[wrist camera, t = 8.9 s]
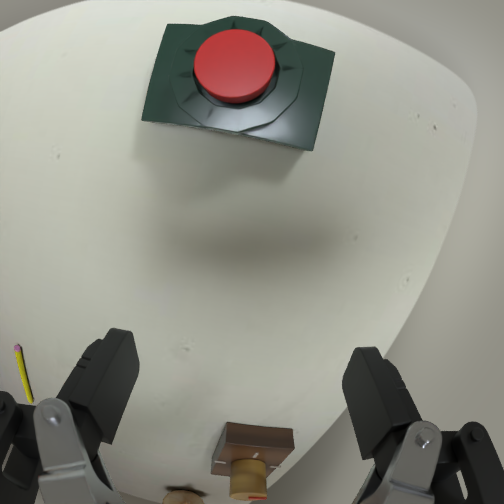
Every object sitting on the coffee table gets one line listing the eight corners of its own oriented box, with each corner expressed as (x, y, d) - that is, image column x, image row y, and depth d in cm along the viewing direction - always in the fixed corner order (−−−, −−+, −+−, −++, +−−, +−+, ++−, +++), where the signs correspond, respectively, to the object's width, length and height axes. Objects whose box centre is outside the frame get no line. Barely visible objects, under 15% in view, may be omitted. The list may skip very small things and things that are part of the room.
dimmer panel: (224, 421, 27) (222, 443, 24) (294, 428, 28) (297, 449, 25) (210, 457, 31) (208, 474, 28) (266, 463, 32) (267, 480, 29)
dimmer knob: (229, 468, 27) (227, 501, 22) (232, 457, 26) (231, 493, 21) (262, 470, 28) (263, 502, 23) (268, 459, 26) (270, 495, 21)
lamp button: (279, 48, 11) (282, 36, 9) (263, 110, 12) (265, 105, 11) (209, 37, 11) (204, 24, 9) (193, 98, 12) (185, 91, 10)
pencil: (16, 343, 24) (12, 348, 23) (21, 347, 24) (17, 352, 23) (30, 400, 29) (28, 404, 28) (34, 403, 29) (32, 407, 28)
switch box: (326, 61, 14) (345, 42, 10) (305, 150, 16) (321, 153, 13) (175, 35, 13) (158, 11, 9) (153, 122, 15) (127, 118, 12)
